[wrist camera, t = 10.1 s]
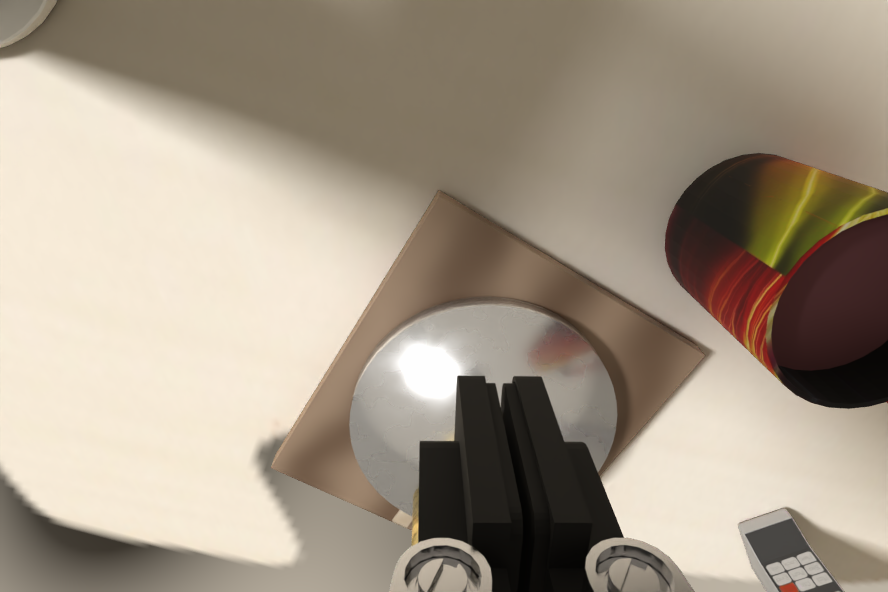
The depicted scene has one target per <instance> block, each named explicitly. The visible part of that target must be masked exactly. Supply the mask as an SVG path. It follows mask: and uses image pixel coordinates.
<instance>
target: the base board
mask: <svg viewBox="0 0 888 592" xmlns="http://www.w3.org/2000/svg"><path fill="white" fill-rule="evenodd" d="M489 296H490V297H503V298H511V299H516V300H521V301H525V302H528V303H531V304H534V305H537V306H540V307H543V308H545V309H547V310H549V311H551V312H553V313H555V314H557V315H559V316H560V317H562V318H563V319H565V320H566V321H568V322H569V323H571V324H572V325H573V326H574V327H575V328H576V329H577V330H579V331H580V332H581V333H582V334H583V335H584V336H585V338H586V339H587V340H588V341H589V342H590V344H591V345H592V346H593V347H594V349H595V351H596V352H597V354H598V356H599V357H600V359H601V361H602V363H603V365H604V366H605V368H606V370H607V372H608V374H609V377H610V379H611V382H612V384H613V388H614V392H615V396H616V402H617V424H616V432H615V436H614V440H613V444H612V446H611V449H610V451H609V453H608V456H607V458H606V460H605V462H604V463H603V465H602V467H601V468H600V470H599V472H598V474H599V476H600V475H601V474H602V473H603V472H604V471H605V469H606V468H607V467H608V466H609V465H610V464H611V463H612V461H613V460H614V459H615V458H616V457H617V456H618V455H619V454H620V452H621V451H622V450H623V449H624V448H625V447H626V446H627V444H628V443H629V442H630V441H631V440H632V439H633V438H634V436H635V435H636V434H637V433H638V432H639V431H640V430H641V428H642V427H643V426H644V425H645V424H646V423H647V422H648V420H649V419H650V418H651V417H652V416H653V415H654V414H655V412H656V411H657V410H658V409H659V408H660V407H661V406H662V404H663V403H664V402H665V401H666V400H667V399H668V398H669V396H670V395H671V394H672V393H673V392H674V391H675V390H676V388H677V387H678V386H679V385H680V384H681V383H682V382H683V380H684V379H685V378H686V377H687V376H688V375H689V374H690V372H691V371H692V370H693V369H694V368H695V367H696V366H697V364H698V363H699V362H700V361H701V360H702V359H703V358H704V356H705V354H704V353H703V352H702V351H701V350H700V349H699V348H698V347H697V345H696V344H694V343H692V342H691V341H689V340H687V339H686V338H684V337H682V336H681V335H679V334H677V333H676V332H674V331H672V330H671V329H669V328H667V327H666V326H664V325H662V324H661V323H659V322H657V321H656V320H654V319H652V318H651V317H649V316H647V315H646V314H644V313H642V312H641V311H639V310H638V309H636V308H634V307H633V306H631V305H629V304H628V303H626V302H624V301H623V300H621V299H619V298H618V297H616V296H614V295H613V294H611V293H609V292H608V291H606V290H604V289H603V288H601V287H599V286H598V285H596V284H594V283H593V282H591V281H589V280H588V279H586V278H584V277H583V276H581V275H579V274H578V273H576V272H574V271H573V270H571V269H569V268H568V267H566V266H564V265H563V264H561V263H559V262H558V261H556V260H554V259H553V258H551V257H549V256H548V255H546V254H544V253H543V252H541V251H539V250H538V249H536V248H534V247H533V246H531V245H529V244H528V243H526V242H524V241H523V240H521V239H519V238H518V237H516V236H514V235H513V234H511V233H509V232H508V231H506V230H504V229H503V228H501V227H499V226H498V225H496V224H494V223H493V222H491V221H490V220H488V219H486V218H485V217H483V216H481V215H480V214H478V213H476V212H475V211H473V210H471V209H470V208H468V207H466V206H465V205H463V204H461V203H460V202H458V201H456V200H455V199H453V198H451V197H450V196H448V195H446V194H445V193H443V192H441V191H440V190H439V191H438V192H437V194H436V196H435V197H434V199H433V200H432V202H431V204H430V205H429V207H428V209H427V210H426V212H425V213H424V215H423V217H422V218H421V220H420V221H419V223H418V225H417V226H416V228H415V230H414V231H413V233H412V234H411V236H410V238H409V239H408V241H407V242H406V244H405V246H404V247H403V249H402V251H401V252H400V254H399V255H398V257H397V259H396V260H395V262H394V264H393V265H392V267H391V268H390V270H389V272H388V273H387V275H386V276H385V278H384V280H383V281H382V283H381V285H380V286H379V288H378V289H377V291H376V293H375V294H374V296H373V298H372V299H371V301H370V302H369V304H368V306H367V307H366V309H365V310H364V312H363V314H362V315H361V317H360V319H359V320H358V322H357V323H356V325H355V327H354V328H353V330H352V332H351V333H350V335H349V336H348V338H347V340H346V341H345V343H344V344H343V346H342V348H341V349H340V351H339V353H338V354H337V356H336V357H335V359H334V361H333V362H332V364H331V366H330V367H329V369H328V370H327V372H326V374H325V375H324V377H323V378H322V380H321V382H320V383H319V385H318V387H317V388H316V390H315V391H314V393H313V395H312V396H311V398H310V399H309V401H308V403H307V404H306V406H305V408H304V409H303V411H302V412H301V414H300V416H299V417H298V419H297V421H296V422H295V424H294V425H293V427H292V429H291V430H290V432H289V433H288V435H287V437H286V438H285V440H284V442H283V443H282V445H281V446H280V448H279V450H278V451H277V453H276V455H275V458H274V461H273V463H272V466H271V468H272V469H275V470H277V471H279V472H281V473H283V474H286V475H288V476H290V477H292V478H295V479H297V480H299V481H302V482H304V483H306V484H308V485H311V486H313V487H315V488H317V489H320V490H322V491H324V492H326V493H329V494H331V495H333V496H335V497H338V498H340V499H342V500H345V501H347V502H349V503H351V504H353V505H356V506H358V507H360V508H362V509H365V510H367V511H369V512H371V513H374V514H376V515H378V516H380V517H383V518H385V519H387V520H389V521H392V522H394V523H396V524H398V525H401V526H403V527H405V528H408V529H410V530H412V516H410V515H408V514H406V513H404V512H402V511H401V510H399V509H398V508H396V507H395V506H394V505H392V504H391V503H389V502H388V501H387V500H386V499H385V498H384V497H383V496H381V495H380V494H379V493H378V492H377V491H376V489H375V488H374V487H373V486H372V485H371V484H370V483H369V481H368V480H367V478H366V477H365V475H364V473H363V472H362V470H361V468H360V466H359V464H358V462H357V460H356V457H355V455H354V451H353V447H352V444H351V437H350V429H349V425H350V410H351V405H352V400H353V395H354V390H355V385H356V382H357V380H358V377H359V374H360V372H361V369H362V368H363V366H364V364H365V362H366V360H367V358H368V357H369V355H370V354H371V353H372V351H373V350H374V349H375V347H376V346H377V345H378V344H379V343H380V342H381V341H382V339H383V338H384V337H385V336H386V335H387V334H388V333H389V332H391V331H392V330H393V329H394V328H396V327H397V326H398V325H400V324H401V323H402V322H404V321H405V320H407V319H409V318H410V317H412V316H414V315H415V314H417V313H419V312H421V311H424V310H426V309H428V308H431V307H433V306H435V305H439V304H442V303H445V302H449V301H452V300H458V299H464V298H470V297H489Z"/></svg>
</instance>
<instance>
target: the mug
mask: <svg viewBox="0 0 888 592" xmlns="http://www.w3.org/2000/svg"><path fill="white" fill-rule="evenodd" d="M665 252H666V257H667V262H668V265H669V267H670V270H671V272H672V274H673V276H674V277H675V278H676V280H677V281H678V283H679V284H680V285H681V286H682V287H683V288H684V289H685V290H686V291H687V292H688V293H689V294H690V295H691V296H692V297H693V298H694V299H695V300H696V301H697V302H699V303H700V304H701V305H702V306H703V307H704V308H705V309H706V310H707V311H708V312H709V313H710V314H711V315H712V316H713V317H714V318H715V319H716V320H717V321H718V322H719V323H720V324H721V325H722V326H723V327H724V328H725V329H726V330H727V331H729V332H730V333H731V334H732V335H733V336H734V337H735V338H736V339H737V340H738V341H739V342H740V343H741V344H742V345H743V346H744V347H745V348H746V349H747V350H748V351H749V352H750V353H751V354H752V355H753V356H754V357H755V358H756V359H758V360H759V361H760V362H761V363H762V364H763V365H764V366H765V367H766V368H767V369H768V370H769V371H770V372H771V373H772V374H773V375H774V376H775V377H776V378H777V379H778V380H779V381H780V382H781V383H782V384H783V385H785V386H786V387H787V388H788V389H789V390H791V391H792V392H793V393H794V394H795V395H797V396H799V397H801V398H803V399H805V400H807V401H809V402H811V403H814V404H818V405H822V406H826V407H832V408H847V409H849V408H859V407H868V406H872V405H876V404H880V403H884V402H887V403H888V192H885V191H882V190H879V189H876V188H873V187H870V186H867V185H864V184H861V183H858V182H855V181H852V180H849V179H846V178H843V177H840V176H837V175H834V174H831V173H828V172H825V171H822V170H819V169H816V168H813V167H810V166H807V165H804V164H801V163H798V162H795V161H792V160H789V159H786V158H783V157H780V156H777V155H772V154H761V153H757V154H748V155H741V156H738V157H735V158H731V159H728V160H725V161H723V162H721V163H719V164H717V165H715V166H714V167H712V168H710V169H709V170H707V171H706V172H705V173H703V174H702V175H701V176H699V177H698V178H697V179H696V180H695V181H694V182H693V183H692V184H691V185H690V186H689V187H688V188H687V189H686V190H685V191H684V193H683V194H682V196H681V197H680V199H679V200H678V202H677V203H676V205H675V207H674V209H673V211H672V214H671V216H670V218H669V222H668V226H667V230H666V235H665Z"/></svg>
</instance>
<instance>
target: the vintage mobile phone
mask: <svg viewBox="0 0 888 592" xmlns="http://www.w3.org/2000/svg"><path fill="white" fill-rule="evenodd" d="M738 528H739V531H740V534H741V537H742V540H743V543H744V546H745V549H746V552H747V555H748V558H749V561H750V564H751V567H752V569H753V571H754V572H755V574H756V576H757V577H758V579H759V581H760V582H761V584H762V585H763V587H764V589H765V590H766V591H767V592H845V591H844V590H843V589H842V588H841V586H840V585H839V583H838V582H837V581H836V580H835V578H834V577H833V576H832V574H831V573H830V572H829V570H828V569H827V568H826V566H825V565H824V564H823V562H822V561H821V560H820V558H819V557H818V556H817V554H816V553H815V552H814V551H813V549H812V548H811V547H810V545H809V543H808V542H807V540H806V538H805V537H804V535H803V534H802V532H801V530H800V529H799V527H798V525H797V524H796V522H795V520H794V519H793V517H792V516H791V515H790V513H789V512H788V511H787V510H786V509H779V510H776V511H773V512H770V513H767V514H765V515H762V516H759V517H756V518H753V519H750V520H747V521H744V522H741V523H739V524H738Z"/></svg>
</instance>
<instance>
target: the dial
mask: <svg viewBox="0 0 888 592" xmlns="http://www.w3.org/2000/svg"><path fill="white" fill-rule="evenodd" d="M457 376H485V379H486V383H495V384H496V388H497V393H498V397H499V402H500V407H501V395H502V386H503V383H512V379H513V377H514V376H541V377H542V379H543V382H544V384H545V387H546V390H547V393H548V396H549V399H550V402H551V405H552V407H553V410H554V413H555V416H556V419H557V422H558V425H559V428H560V430H561V433H562V436H563V439H564V442H584V443H586V445H587V447H588V449H589V452H590V454H591V457H592V459H593V462H594V464H595V467H596V469H597V472H599V470H600V468H601V467H602V465H603V463H604V462H605V460H606V458H607V456H608V453H609V451H610V449H611V446H612V444H613V440H614V436H615V432H616V424H617V402H616V396H615V392H614V388H613V384H612V382H611V379H610V377H609V374H608V372H607V370H606V368H605V366H604V365H603V363H602V361H601V359H600V357H599V356H598V354H597V352H596V351H595V349H594V347H593V346H592V345H591V344H590V342H589V341H588V340H587V339H586V338H585V336H584V335H583V334H582V333H581V332H580V331H579V330H577V329H576V328H575V327H574V326H573V325H572V324H571V323H569V322H568V321H566V320H565V319H563V318H562V317H560V316H559V315H557V314H555V313H553V312H551V311H549V310H547V309H545V308H543V307H540V306H537V305H534V304H531V303H528V302H525V301H521V300H516V299H511V298H503V297H490V296H489V297H470V298H464V299H458V300H452V301H449V302H445V303H442V304H439V305H435V306H433V307H431V308H428V309H426V310H424V311H421V312H419V313H417V314H415V315H414V316H412V317H410V318H409V319H407V320H405V321H404V322H402V323H401V324H400V325H398V326H397V327H396V328H394V329H393V330H392V331H391V332H389V333H388V334H387V335H386V336H385V337H384V338H383V339H382V341H381V342H380V343H379V344H378V345H377V346H376V347H375V349H374V350H373V351H372V353H371V354H370V355H369V357H368V358H367V360H366V362H365V364H364V366H363V368H362V369H361V372H360V374H359V377H358V380H357V382H356V385H355V390H354V395H353V400H352V405H351V410H350V425H349V429H350V437H351V444H352V447H353V451H354V455H355V457H356V460H357V462H358V464H359V466H360V468H361V470H362V472H363V473H364V475H365V477H366V478H367V480H368V481H369V483H370V484H371V485H372V486H373V487H374V488H375V489H376V491H377V492H378V493H379V494H380V495H381V496H383V497H384V498H385V499H386V500H387V501H388V502H389V503H391V504H392V505H394V506H395V507H396V508H398V509H399V510H401V511H402V512H404V513H406V514H408V515H410V516H412V546H413V545H415V544H417V543H418V508H419V443H420V441H454V434H455V411H456V387H457Z"/></svg>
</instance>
